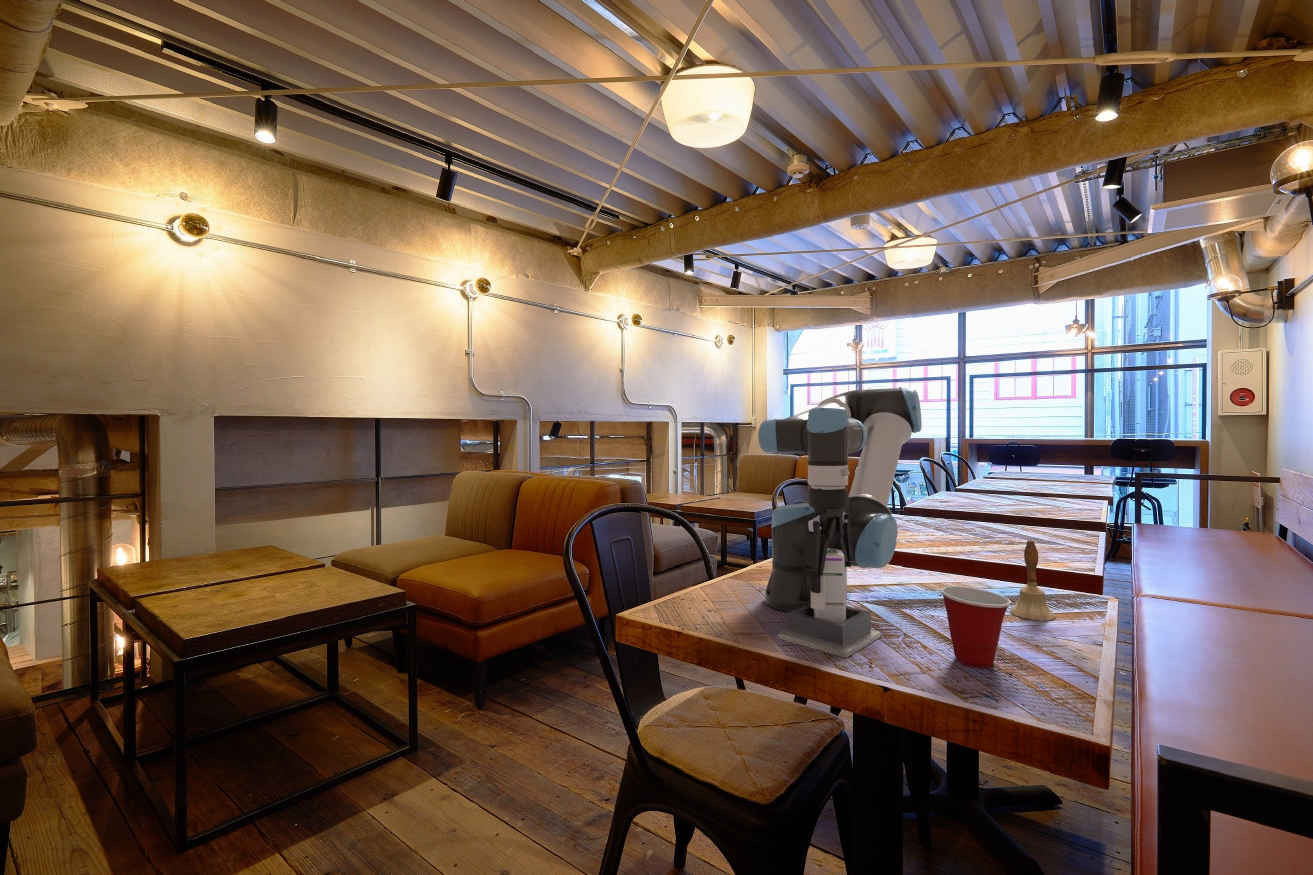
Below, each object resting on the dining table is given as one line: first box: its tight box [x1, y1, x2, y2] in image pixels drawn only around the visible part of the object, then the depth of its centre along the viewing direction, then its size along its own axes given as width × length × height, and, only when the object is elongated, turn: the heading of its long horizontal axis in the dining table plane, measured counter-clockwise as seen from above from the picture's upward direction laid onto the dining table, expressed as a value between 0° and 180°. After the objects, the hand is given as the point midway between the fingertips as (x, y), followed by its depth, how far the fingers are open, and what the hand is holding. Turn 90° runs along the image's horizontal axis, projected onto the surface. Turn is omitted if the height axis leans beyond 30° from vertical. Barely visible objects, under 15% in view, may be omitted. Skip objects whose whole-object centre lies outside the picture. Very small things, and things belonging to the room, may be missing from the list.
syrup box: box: [814, 548, 847, 623], centre depth 112 cm, size 6×6×14 cm
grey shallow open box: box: [778, 603, 881, 659], centre depth 112 cm, size 14×14×5 cm
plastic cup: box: [940, 585, 1012, 669], centre depth 100 cm, size 11×11×12 cm
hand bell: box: [1009, 540, 1056, 622], centre depth 124 cm, size 8×8×16 cm
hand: (829, 603), depth 112 cm, fingers closed on syrup box, 8 cm apart
